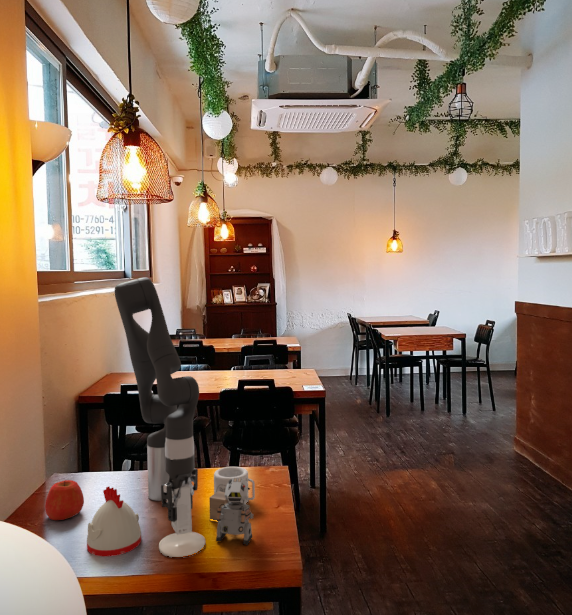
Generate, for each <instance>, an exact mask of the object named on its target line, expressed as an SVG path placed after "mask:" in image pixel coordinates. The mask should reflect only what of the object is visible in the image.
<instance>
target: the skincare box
mask: <svg viewBox="0 0 572 615" xmlns="http://www.w3.org/2000/svg"><path fill="white" fill-rule="evenodd" d="M178 490H179V488H178V489H174V492H173V491H172V494H175V495H176V494H177V492H178ZM172 502H174V498H172ZM176 507H177V520H176V521H175V522H172V521H170V522H171V527H172V528H173V530H174V533H176V534H177V535H179V534H184V533H189V532H193V523H192V518H193V517H192V509H191V494H190V486H189V485H188V484H187V483H186V484H185V485H184V487H182V488H181V497H180V499H178V502H177V506H176Z"/></svg>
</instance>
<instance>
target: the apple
mask: <svg viewBox="0 0 572 615" xmlns="http://www.w3.org/2000/svg"><path fill="white" fill-rule="evenodd" d="M84 504H85V498H84V493H83V491H82V488H81V487H80V485H79V483H78V482H77V481H75V480H71V479H68V480H67V479H65V480H61V481H57V482H56V483H54V484H52V486H51V487H50V489H49V491H48V493H47V495H46V498H45V505H44V506H45V507H44V508H45V514H46V515H47V517H48V518H49V519H50V520H52V521H61V520H63V521H64V520H66V519H70V518H72V517H74V516H77V515H78V514H80V512H81V511H82V510H83V506H84Z"/></svg>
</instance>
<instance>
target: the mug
mask: <svg viewBox="0 0 572 615" xmlns="http://www.w3.org/2000/svg"><path fill="white" fill-rule="evenodd" d="M233 478H242V479H243V480H244V481H245V482H246V483H247V484H248V485H249V482H250V483H251V484H252V485H251V487H252V488H251V489H252V490H251V491H252V492H251V493H252V494H251V495H252V497H249V491H248V492H247V497H246V499H245V501H244V504H246V503H247V502H248V503H249V501H253V500H254V499H255V497H256V496H255V495H256V492H255V491H256V490H255V488H256V487H255V486H256V485H255V481H254V480H253V479H252V478H249V471H248V470H247V469H246V468H245V467H241V466H225V467H222V468H221V467H220V468H219V469H216V470H215V471H214V473H213V484H214V485H213V495H214V494H215V493H216V492H217V491H220V492H225V490H226V486H227V484H228V483H229V480H231V479H233ZM241 502H242V503H243V500H242V501H241ZM248 503H247V504H248ZM247 504H246V505H247Z"/></svg>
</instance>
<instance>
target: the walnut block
mask: <svg viewBox="0 0 572 615" xmlns="http://www.w3.org/2000/svg"><path fill="white" fill-rule="evenodd" d="M224 494H225V492H220V491H217V492H216V493H215V494H214V493H213V494H212V495H211V496H209V520H210V519H213V520H217V510H218V508H219V506H220V505H221V504H227V503H228V500H226V498H225V495H224ZM222 506H223V505H221V506H220V508H221V507H222Z"/></svg>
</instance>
